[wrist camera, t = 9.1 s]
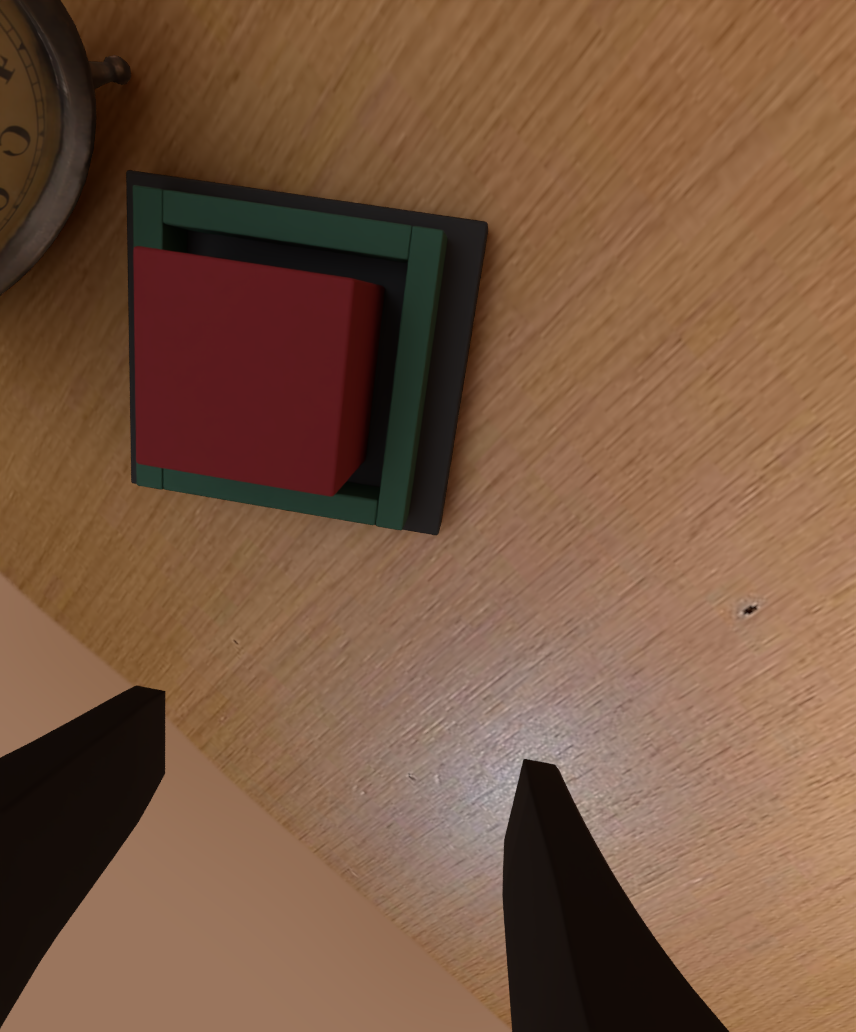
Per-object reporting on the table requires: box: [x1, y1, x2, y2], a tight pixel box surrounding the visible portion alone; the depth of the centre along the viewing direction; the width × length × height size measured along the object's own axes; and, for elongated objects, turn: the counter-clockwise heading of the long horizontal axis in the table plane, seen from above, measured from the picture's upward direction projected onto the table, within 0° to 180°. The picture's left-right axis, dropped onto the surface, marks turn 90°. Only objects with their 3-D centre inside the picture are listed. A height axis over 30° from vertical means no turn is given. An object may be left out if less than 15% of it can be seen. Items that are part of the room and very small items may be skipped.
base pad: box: [126, 170, 488, 535], centre depth 18 cm, size 10×9×3 cm
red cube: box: [133, 246, 385, 497], centre depth 16 cm, size 5×5×4 cm
